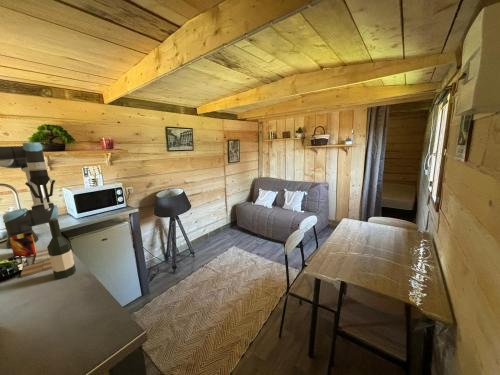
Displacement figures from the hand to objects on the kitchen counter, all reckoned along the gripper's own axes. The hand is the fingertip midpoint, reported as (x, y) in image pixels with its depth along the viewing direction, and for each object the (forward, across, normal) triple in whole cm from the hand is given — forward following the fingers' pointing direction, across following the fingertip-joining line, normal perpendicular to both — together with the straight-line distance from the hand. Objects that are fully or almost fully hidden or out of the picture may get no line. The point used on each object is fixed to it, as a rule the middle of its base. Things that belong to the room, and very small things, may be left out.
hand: (46, 208), depth 127 cm
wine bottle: (+27, +5, -38) cm, 47 cm away
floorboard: (+28, -4, -21) cm, 35 cm away
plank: (+28, -5, -6) cm, 29 cm away
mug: (+29, -13, +6) cm, 32 cm away
